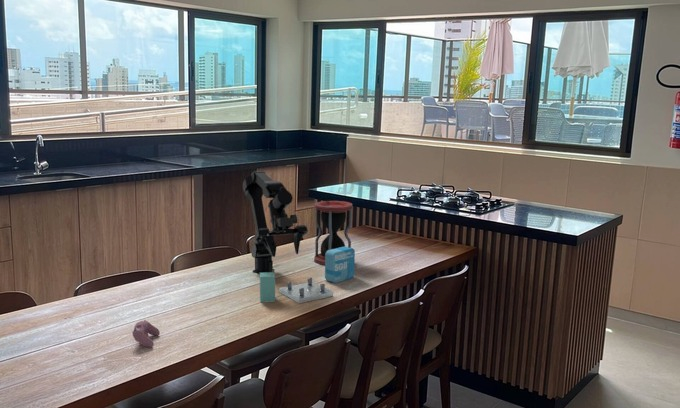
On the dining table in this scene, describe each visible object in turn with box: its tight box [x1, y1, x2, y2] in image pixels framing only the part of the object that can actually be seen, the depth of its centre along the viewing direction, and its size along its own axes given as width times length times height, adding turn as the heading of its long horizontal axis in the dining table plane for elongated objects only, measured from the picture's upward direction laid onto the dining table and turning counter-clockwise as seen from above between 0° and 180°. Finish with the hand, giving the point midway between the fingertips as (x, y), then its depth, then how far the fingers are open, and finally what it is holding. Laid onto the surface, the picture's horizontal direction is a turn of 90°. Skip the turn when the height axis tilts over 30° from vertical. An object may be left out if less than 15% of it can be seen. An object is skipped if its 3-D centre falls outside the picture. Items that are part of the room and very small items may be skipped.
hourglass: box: [313, 200, 353, 266], centre depth 259 cm, size 16×16×25 cm
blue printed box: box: [324, 245, 356, 284], centre depth 235 cm, size 12×4×12 cm, turn 136°
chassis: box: [278, 277, 334, 304], centre depth 217 cm, size 14×14×4 cm
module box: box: [259, 271, 276, 303], centre depth 211 cm, size 5×5×9 cm
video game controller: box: [132, 319, 161, 348], centre depth 174 cm, size 10×5×7 cm, turn 5°
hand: (285, 255), depth 219 cm, fingers open, 9 cm apart
